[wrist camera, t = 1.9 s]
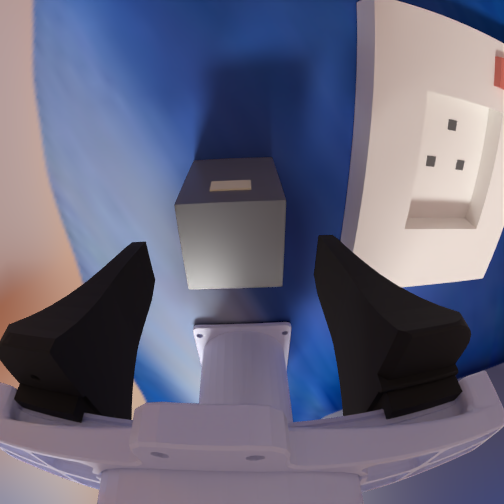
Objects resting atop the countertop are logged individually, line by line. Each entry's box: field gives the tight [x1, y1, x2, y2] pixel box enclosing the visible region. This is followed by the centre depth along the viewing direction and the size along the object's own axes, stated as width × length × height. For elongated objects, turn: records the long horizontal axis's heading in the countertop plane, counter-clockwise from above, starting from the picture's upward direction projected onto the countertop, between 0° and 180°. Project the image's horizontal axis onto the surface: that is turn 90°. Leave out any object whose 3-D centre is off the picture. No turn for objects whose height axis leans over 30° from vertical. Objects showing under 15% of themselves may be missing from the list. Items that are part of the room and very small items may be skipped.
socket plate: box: [340, 0, 504, 287], centre depth 16 cm, size 18×13×3 cm
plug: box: [175, 157, 286, 289], centre depth 16 cm, size 7×4×6 cm
